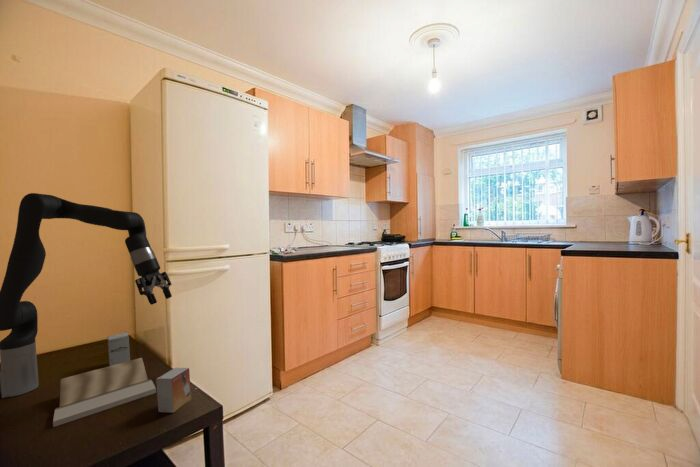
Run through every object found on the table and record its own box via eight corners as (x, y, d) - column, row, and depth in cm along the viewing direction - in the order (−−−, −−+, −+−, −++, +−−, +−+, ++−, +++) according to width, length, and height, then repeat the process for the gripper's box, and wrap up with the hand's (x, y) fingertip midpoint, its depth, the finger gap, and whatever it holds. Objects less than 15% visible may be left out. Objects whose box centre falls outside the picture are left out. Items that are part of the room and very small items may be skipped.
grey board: (53, 427, 91) (52, 421, 91) (55, 413, 99) (55, 408, 99) (156, 392, 108) (155, 388, 108) (151, 383, 116) (151, 379, 116)
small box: (173, 413, 94) (171, 379, 94) (157, 412, 96) (155, 378, 95) (192, 399, 102) (189, 367, 102) (177, 398, 103) (175, 367, 103)
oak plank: (60, 410, 100) (59, 406, 100) (61, 382, 110) (60, 379, 110) (148, 383, 116) (147, 379, 115) (142, 360, 126) (141, 357, 125)
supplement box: (109, 369, 132) (107, 339, 132) (109, 364, 138) (107, 336, 138) (130, 363, 137) (128, 335, 137) (129, 359, 142) (127, 331, 142)
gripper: (149, 262, 125) (165, 299, 125) (121, 267, 111) (139, 309, 111) (166, 255, 124) (181, 292, 124) (139, 259, 110) (157, 302, 110)
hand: (161, 300), depth 118 cm, fingers open, 8 cm apart
